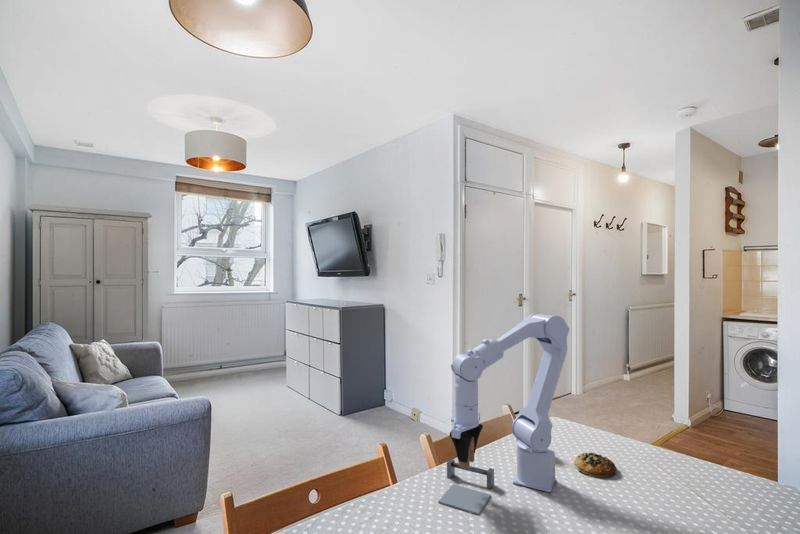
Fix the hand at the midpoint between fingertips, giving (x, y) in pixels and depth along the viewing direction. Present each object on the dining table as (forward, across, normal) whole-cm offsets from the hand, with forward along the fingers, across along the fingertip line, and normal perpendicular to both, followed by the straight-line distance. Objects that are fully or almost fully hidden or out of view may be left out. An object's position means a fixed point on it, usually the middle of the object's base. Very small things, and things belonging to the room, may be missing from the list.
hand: (466, 457), depth 102 cm
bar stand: (+8, -5, -1) cm, 10 cm away
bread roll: (+9, -29, +26) cm, 40 cm away
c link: (+1, 0, 0) cm, 1 cm away
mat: (+8, +4, +1) cm, 9 cm away
